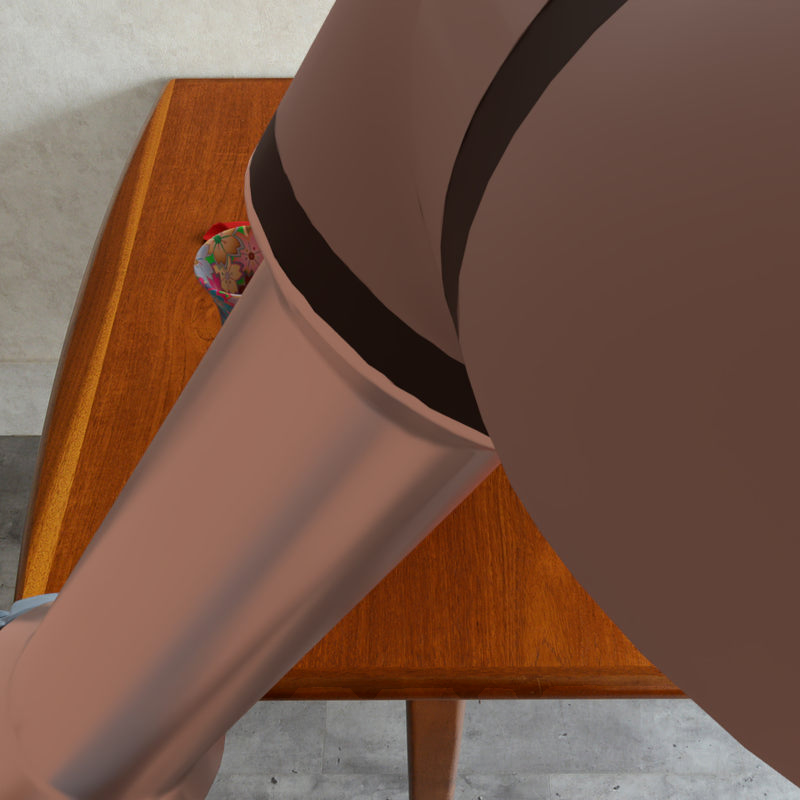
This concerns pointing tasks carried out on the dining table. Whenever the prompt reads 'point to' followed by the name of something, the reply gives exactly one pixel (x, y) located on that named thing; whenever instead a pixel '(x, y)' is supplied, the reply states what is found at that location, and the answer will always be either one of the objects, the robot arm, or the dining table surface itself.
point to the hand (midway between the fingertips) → (591, 62)
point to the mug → (228, 266)
